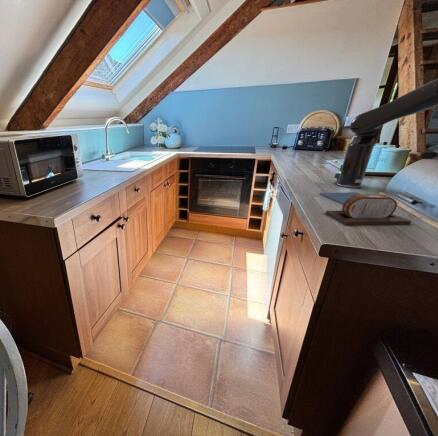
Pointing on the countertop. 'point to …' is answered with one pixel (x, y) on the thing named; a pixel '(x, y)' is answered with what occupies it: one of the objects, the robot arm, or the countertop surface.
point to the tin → (369, 206)
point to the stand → (368, 219)
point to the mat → (339, 196)
